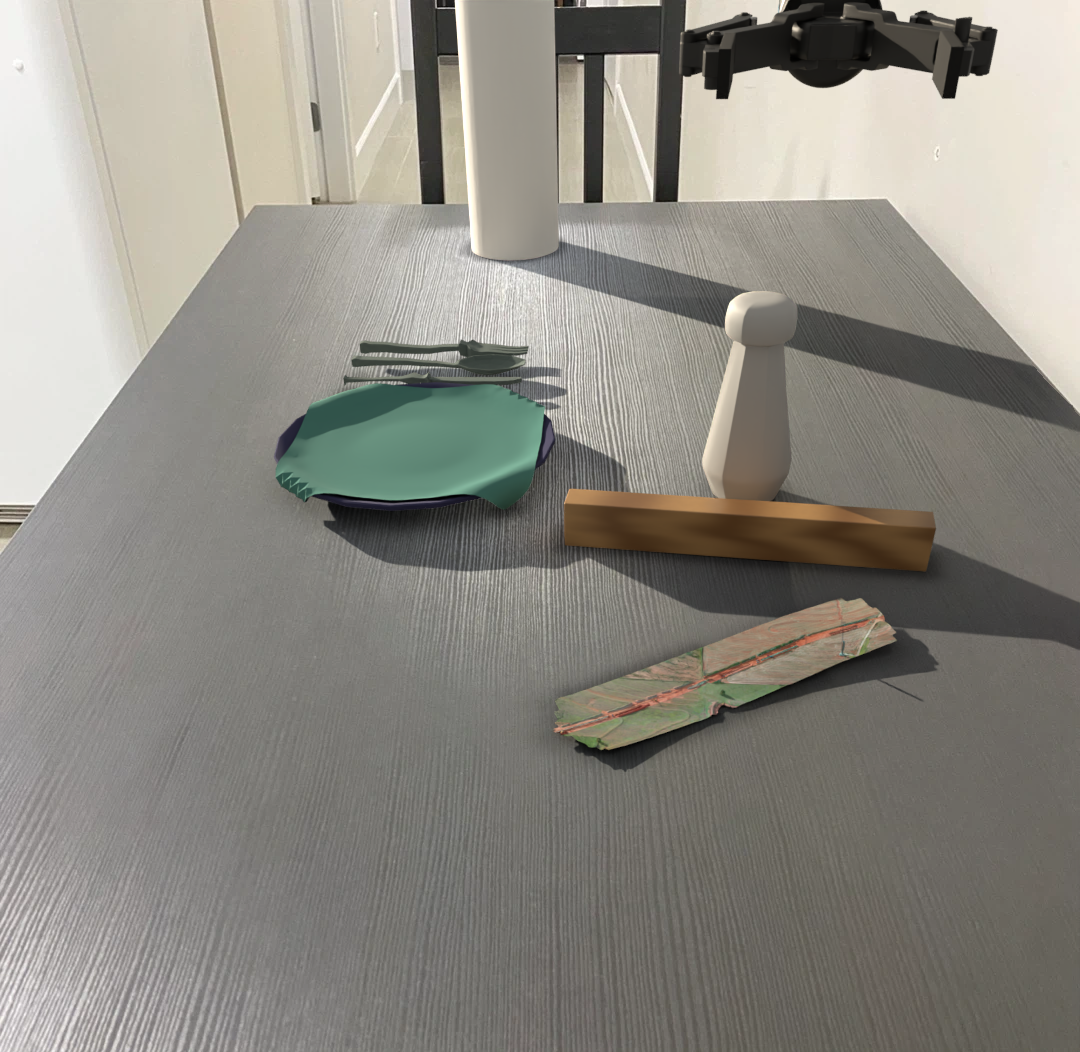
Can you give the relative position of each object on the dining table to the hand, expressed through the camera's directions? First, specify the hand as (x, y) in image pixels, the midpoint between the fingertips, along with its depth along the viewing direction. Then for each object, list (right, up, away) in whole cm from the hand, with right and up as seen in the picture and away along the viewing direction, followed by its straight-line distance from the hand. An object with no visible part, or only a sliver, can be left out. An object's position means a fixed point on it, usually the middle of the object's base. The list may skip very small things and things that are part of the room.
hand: (836, 73), depth 66 cm
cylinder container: (-21, +12, +51) cm, 57 cm away
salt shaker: (-4, -24, +7) cm, 26 cm away
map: (-8, -37, -8) cm, 39 cm away
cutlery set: (-26, -18, +16) cm, 36 cm away
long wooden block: (-6, -29, +2) cm, 29 cm away
